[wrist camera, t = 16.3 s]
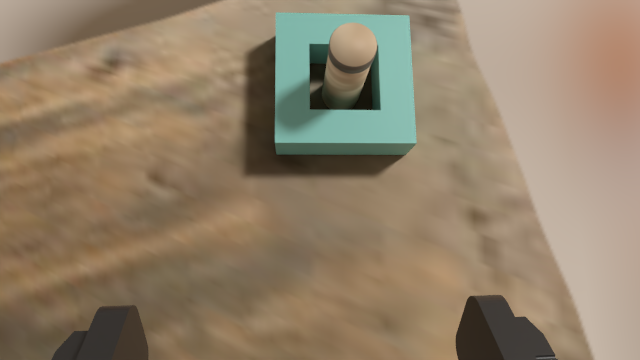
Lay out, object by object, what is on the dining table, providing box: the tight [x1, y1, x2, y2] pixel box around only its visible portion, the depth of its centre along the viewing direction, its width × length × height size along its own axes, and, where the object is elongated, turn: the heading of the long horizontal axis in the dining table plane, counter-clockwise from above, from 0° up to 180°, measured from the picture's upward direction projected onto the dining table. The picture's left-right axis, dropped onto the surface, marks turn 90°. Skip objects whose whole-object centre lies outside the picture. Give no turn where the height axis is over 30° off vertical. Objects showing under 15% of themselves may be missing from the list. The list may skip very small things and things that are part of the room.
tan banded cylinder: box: [322, 23, 377, 110], centre depth 35 cm, size 3×3×9 cm
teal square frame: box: [275, 13, 416, 155], centre depth 38 cm, size 11×11×4 cm
